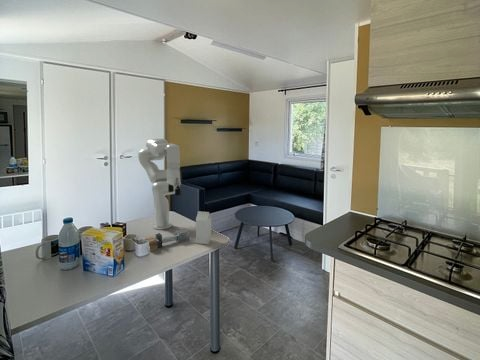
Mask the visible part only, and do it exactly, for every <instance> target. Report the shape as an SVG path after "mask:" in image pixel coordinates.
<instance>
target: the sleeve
mask: <svg viewBox="0 0 480 360" xmlns="http://www.w3.org/2000/svg"><path fill="white" fill-rule="evenodd" d="M176 234H177V235H178V240H174V242H176V243H178V244H182V243H185V242H189V241H190V231H189V230H187V229H186V228H184V229H183V228H182V229H178V230H175V231H174V235H176Z"/></svg>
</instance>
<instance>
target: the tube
mask: <svg viewBox="0 0 480 360" xmlns="http://www.w3.org/2000/svg"><path fill="white" fill-rule="evenodd" d="M154 236H155V237H154V238H155V239H156V240H157V248H161V247H163V244H167V243H170V242H175V240H178V235H177V234H176V235H175V234H172V235H169V236H165V237H163V235H162V234H161V233H160V232H157V233H155V235H154Z"/></svg>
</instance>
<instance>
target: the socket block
mask: <svg viewBox="0 0 480 360" xmlns="http://www.w3.org/2000/svg"><path fill="white" fill-rule="evenodd" d="M144 238H145V241H146V240H148V241H149V246H150V251H149V252H153V251H154V252H155V251H157V250H158V247H157V240H156V238H155V237H154V236H153V235H151V236H150V235H149V236H146V237H144Z"/></svg>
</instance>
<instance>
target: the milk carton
mask: <svg viewBox="0 0 480 360" xmlns="http://www.w3.org/2000/svg"><path fill="white" fill-rule="evenodd" d="M211 240H212V216H211V215H210V211H200V210H199V211H197V215H196V218H195V243H196V244H198V245H199V244H201V245H208V244H209V243H210V242H211Z"/></svg>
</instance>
